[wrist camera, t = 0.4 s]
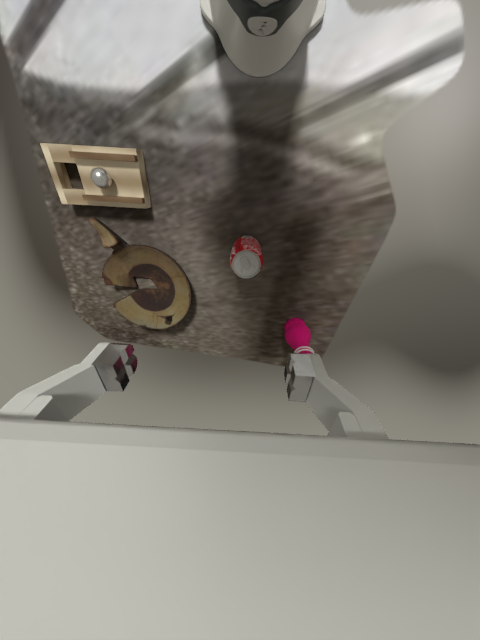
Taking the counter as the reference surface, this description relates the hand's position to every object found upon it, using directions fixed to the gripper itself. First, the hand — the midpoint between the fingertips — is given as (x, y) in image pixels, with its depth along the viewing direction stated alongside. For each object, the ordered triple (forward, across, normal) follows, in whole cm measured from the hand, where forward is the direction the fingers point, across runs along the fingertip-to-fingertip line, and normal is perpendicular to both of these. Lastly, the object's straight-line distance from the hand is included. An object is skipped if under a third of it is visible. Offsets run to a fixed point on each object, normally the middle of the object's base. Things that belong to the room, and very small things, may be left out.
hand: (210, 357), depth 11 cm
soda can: (+45, -2, +6) cm, 46 cm away
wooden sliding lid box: (+45, +29, -7) cm, 54 cm away
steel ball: (+40, +27, -7) cm, 49 cm away
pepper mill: (+45, -18, +28) cm, 56 cm away
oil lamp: (+45, +23, +14) cm, 53 cm away
